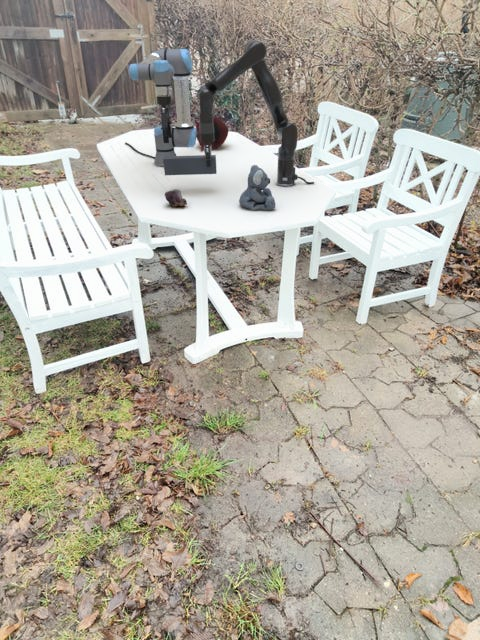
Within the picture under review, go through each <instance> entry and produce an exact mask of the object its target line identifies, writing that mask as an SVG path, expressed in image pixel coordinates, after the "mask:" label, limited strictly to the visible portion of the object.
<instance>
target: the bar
mask: <svg viewBox="0 0 480 640" xmlns="http://www.w3.org/2000/svg"><path fill="white" fill-rule="evenodd" d="M207 157H209V155H207ZM205 158H206V156H205V154H201V155H200V154H199V155H176V156H164V158H163V163H164V167H163V171H164V176H190V175H217V155H216V154H211V155H210V158H211V160H210V163H211V167H207V166H206V159H205Z"/></svg>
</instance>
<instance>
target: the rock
mask: <svg viewBox="0 0 480 640" xmlns="http://www.w3.org/2000/svg"><path fill="white" fill-rule="evenodd" d="M164 198H165V200H166V201H167V202H168V203H169V205H170V206H172V207H178V206H179V207H184V206H186V205H188V203H187V200H186V198H183V196H182V191H181V189H176V188H175V189H172V190H168V191H166V192H164Z"/></svg>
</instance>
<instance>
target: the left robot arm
mask: <svg viewBox="0 0 480 640" xmlns="http://www.w3.org/2000/svg"><path fill="white" fill-rule="evenodd" d="M193 65H194V64H193V59H192V55H191V52H190V50H189V49H187V48H160V49H158V50H154V51H152V52H149V54H148V55H146V58H145V59H143V60H142V61H141V62H139V63H136V62H135V63H130V64H129V66H128V72H129V78H130V79H131V80H132V81H137V82H139V81H154V85H155V86H154V88H155V89H154V90H155V95H156V104H157V105H158V106H161V107H160V116H161V125H159V126H156V127H155V128H154V129H153V133H154V134H153V136H154V145H155V155H154V156H153V155H150V154H146V153H143V152H141V151H139V150H138V149H136V148H135V147H134V146H132V145H131V144H130V143H129V142H124V144H125V145H127V146H129V147H130V148H131V149H132V150H134V151H135V152H136V153H137V154H140V155H142V156H145V157H148V158H152V159H154V165H155V166H157V167H163V168H164V163H163V158H164V156H177V153H176V151H175V148H194V147H195V146H196V142H197V138H196V136H197V129H196V126H195V125H194V123H193V122H192V116H191V101H190V85H189V78H190V77H191V73H192V72H193V71H194V66H193ZM172 79H173V88H174V90H173V88H172V87H171V80H172ZM172 90H173V91H174V98H175V99H174V100H175V111H176V123H175V124H174V127H173V125H172V124H173V123H172V121H171V113H170V107H169V105H172V104H173V100H172V99H173V98H172Z"/></svg>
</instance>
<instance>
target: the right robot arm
mask: <svg viewBox="0 0 480 640" xmlns="http://www.w3.org/2000/svg"><path fill="white" fill-rule="evenodd" d="M266 56H267V47H266V45H265V43H263V42H262V41H260V40H257V39H250V40H248V41H246V43H245V45H244V47H243V54H242V56H240V58H238V59H237V60H236V61H235V62H233V63H231V64H230V65H228V66H226V67H225V68H224V69H222V70H221V71H219V72H218V73H217V74H216V75H215V76H214V77H213V78H212V79H211V80H210V81H207V82H206V83H205V84H203V85H202V86H201V87H200V88H198V90H197V91H196V99H197V101H198V102H199V111H198V123H199V131H200V141H201V142H204V143H205V145H204V148H203V151H204V155H205V156H206V158H205V159H206V166H207V167H211V163H210V160H211V158H210V155H212V149H211V148H212V146H211V144H210V142H214V140H215V138H214V124H213V117H214V97H215V95H217V94H219V93H222V92H223V91H224V90H226V89H227V88H228V87H229V86H230V85H232V84H233V82H234V81H236V80H237V79H238V78H239V77H240V76H241V75H243V74H244V73H245V72H247V71H248V70H250V69H251V71H252V72H253V74H254V76H255V80H256V82H257V85H258V88H259V90H260V93H261V96H262V98H263V101H264V103H265V105H266V107H267V109H268V111H269V113H270V116H271V118H272V120H273V123H274V127H275V130H276V134H277V135H278V137H279V138H280V139H281V142H280V143H281V144H280V146H279V147H278V149H277V173H276V175H277V176H276V185H277V186H279V187H291V186H294V185H295V181H298V179H299V180H301V181H303V182H304V183H305V184H308V185H313V184H315V182H314V181H307V180H306V179H305V178H303V177H301V176H299V175H298V174H296V167H295V160H296V159H295V156H296V150H297V146H298V138H299V130H298V126H297V125H296V124H295V123H293V122H290V120H289V118H288V117H287V114H286V111H285V108H284V97H283V94H282V91H281V88H280V86H279V84H278V82H277V80H276V78H275V76H274V75H273V73H272V72H271V71H270V69H269V67H268V64H267V63H266V60H265V58H266ZM207 155H209V157H207Z"/></svg>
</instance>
